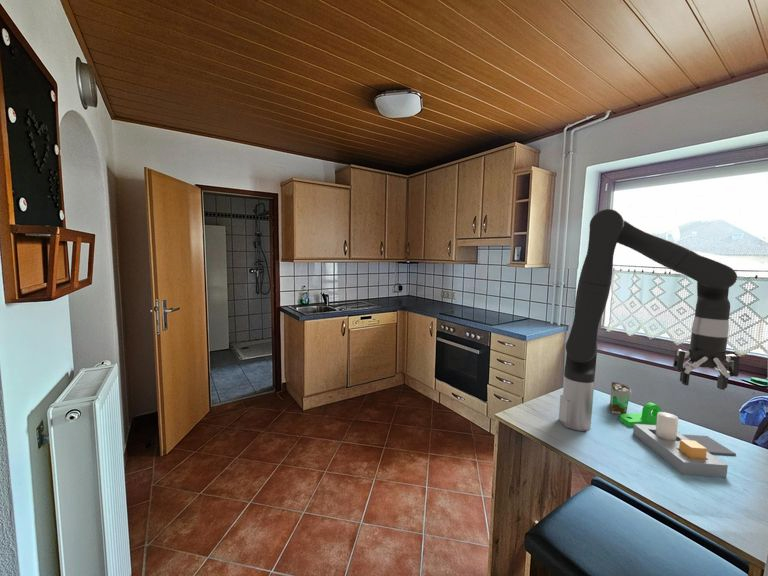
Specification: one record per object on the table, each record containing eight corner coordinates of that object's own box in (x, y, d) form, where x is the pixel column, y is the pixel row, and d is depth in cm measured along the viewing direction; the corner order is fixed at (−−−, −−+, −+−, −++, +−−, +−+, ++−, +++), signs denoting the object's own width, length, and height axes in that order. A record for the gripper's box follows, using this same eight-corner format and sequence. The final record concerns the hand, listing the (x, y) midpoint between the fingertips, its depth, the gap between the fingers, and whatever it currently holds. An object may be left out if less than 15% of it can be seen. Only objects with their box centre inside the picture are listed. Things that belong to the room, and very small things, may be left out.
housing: (682, 474, 90) (684, 462, 90) (632, 433, 111) (633, 423, 111) (726, 477, 89) (727, 465, 89) (667, 435, 110) (668, 425, 110)
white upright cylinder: (662, 449, 102) (665, 419, 101) (650, 440, 107) (653, 411, 106) (679, 450, 102) (682, 420, 101) (667, 441, 107) (670, 412, 106)
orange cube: (689, 462, 92) (691, 447, 92) (678, 454, 96) (680, 439, 96) (705, 463, 92) (706, 448, 92) (693, 455, 96) (694, 440, 96)
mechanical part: (645, 418, 123) (646, 397, 122) (660, 426, 117) (662, 404, 116) (615, 419, 122) (617, 398, 121) (629, 427, 116) (631, 405, 115)
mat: (700, 453, 101) (700, 451, 101) (674, 435, 110) (674, 433, 110) (735, 455, 100) (736, 453, 100) (706, 437, 110) (707, 435, 109)
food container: (631, 420, 120) (634, 394, 119) (611, 416, 124) (613, 390, 123) (628, 408, 131) (630, 383, 130) (609, 404, 134) (611, 380, 133)
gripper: (686, 333, 94) (680, 388, 96) (750, 338, 90) (742, 395, 91) (672, 328, 101) (666, 379, 103) (731, 332, 97) (724, 385, 98)
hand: (702, 386), depth 97 cm, fingers open, 8 cm apart
